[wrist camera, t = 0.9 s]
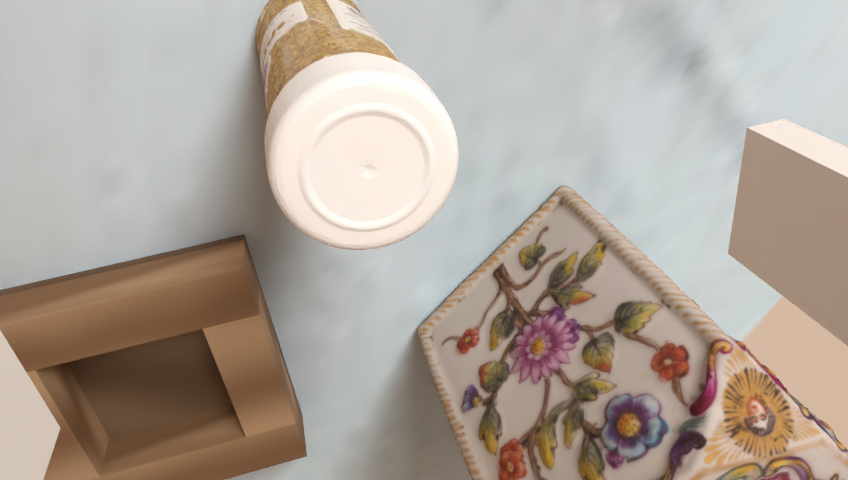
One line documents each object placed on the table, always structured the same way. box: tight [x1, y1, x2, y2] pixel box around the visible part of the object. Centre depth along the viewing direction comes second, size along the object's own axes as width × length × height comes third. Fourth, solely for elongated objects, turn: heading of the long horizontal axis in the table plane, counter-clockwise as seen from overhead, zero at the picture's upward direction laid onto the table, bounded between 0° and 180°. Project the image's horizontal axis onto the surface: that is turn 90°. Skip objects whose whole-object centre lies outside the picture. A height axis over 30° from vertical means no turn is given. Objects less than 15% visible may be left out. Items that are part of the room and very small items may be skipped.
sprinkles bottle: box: [256, 0, 459, 250], centre depth 20 cm, size 5×5×14 cm
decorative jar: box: [418, 186, 848, 480], centre depth 29 cm, size 12×12×18 cm
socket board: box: [0, 235, 307, 480], centre depth 30 cm, size 12×12×3 cm
